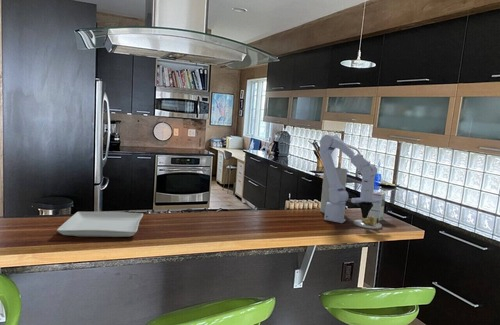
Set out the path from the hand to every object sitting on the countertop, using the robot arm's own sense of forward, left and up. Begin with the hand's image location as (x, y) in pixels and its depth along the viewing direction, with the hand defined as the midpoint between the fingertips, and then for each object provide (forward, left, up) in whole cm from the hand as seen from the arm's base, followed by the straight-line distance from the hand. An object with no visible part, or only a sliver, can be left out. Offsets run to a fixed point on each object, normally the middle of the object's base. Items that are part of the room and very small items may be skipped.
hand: (364, 217), depth 169 cm
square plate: (-84, -81, -5) cm, 117 cm away
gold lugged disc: (+2, +4, -3) cm, 5 cm away
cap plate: (+1, +5, -5) cm, 7 cm away
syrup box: (+2, +23, -5) cm, 24 cm away
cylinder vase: (-21, +19, -5) cm, 29 cm away
